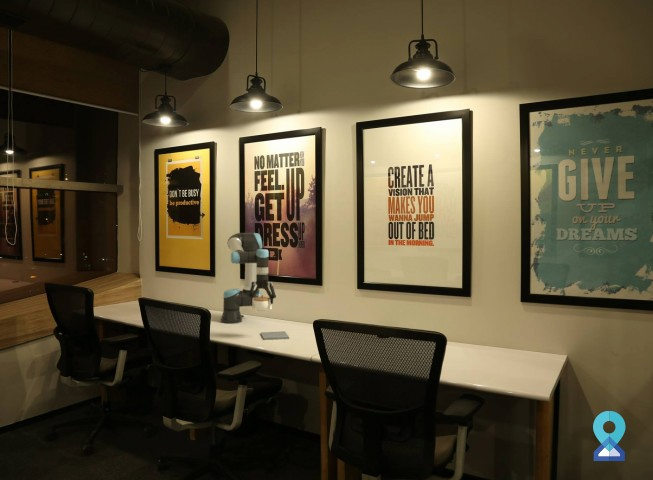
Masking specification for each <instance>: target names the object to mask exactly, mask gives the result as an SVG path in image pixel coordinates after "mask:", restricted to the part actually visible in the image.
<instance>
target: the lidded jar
mask: <svg viewBox="0 0 653 480" xmlns="http://www.w3.org/2000/svg"><path fill="white" fill-rule="evenodd" d="M269 299H270V297H269V296H264V295H263V294H261V297H255V298H254V306H255V308H254V309H256V311H258V312H266V311H267V310H269Z"/></svg>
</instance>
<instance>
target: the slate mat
mask: <svg viewBox="0 0 653 480" xmlns="http://www.w3.org/2000/svg"><path fill="white" fill-rule="evenodd" d="M260 335H261V337H262V339H263V341H269V340H270V341H271V340H272V341H273V340H289V339H290V336H289V335H288V334H287V332H286V331H282V330H281V331H265V332H264V331H262V332H260Z"/></svg>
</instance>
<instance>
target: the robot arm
mask: <svg viewBox="0 0 653 480" xmlns="http://www.w3.org/2000/svg"><path fill="white" fill-rule="evenodd" d="M227 247H228V249H229V250H230V251H231V253H230V262H231V263H232V264H237V265H238V264H244V266H245V267H244V269H245V270H244V286H243V287H242V290H241V289H240V288H231V289H226V290H224V291H223V297H222V299H223V309H222V310H223V311H222V314H221V317H220V322H221V323H222V324H237V323H241V322H243V316H242V313H241V311H240V309H241V307H252V309H256V308H255V306H254V298H255V297H261V295H262V293H261V289H263V290H265V292H266V293H267V295H268V297H270V299H269V308H268V310H272V308H273V304H274V299H276V298H277V295H276V291H275V289H274V282H269V255H270V254H269V250H268V249H265V248H263V241H262V237H261V235H260V233H256V232H237V233H234V234H232V235H231V236H229V238H228V239H227Z"/></svg>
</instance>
